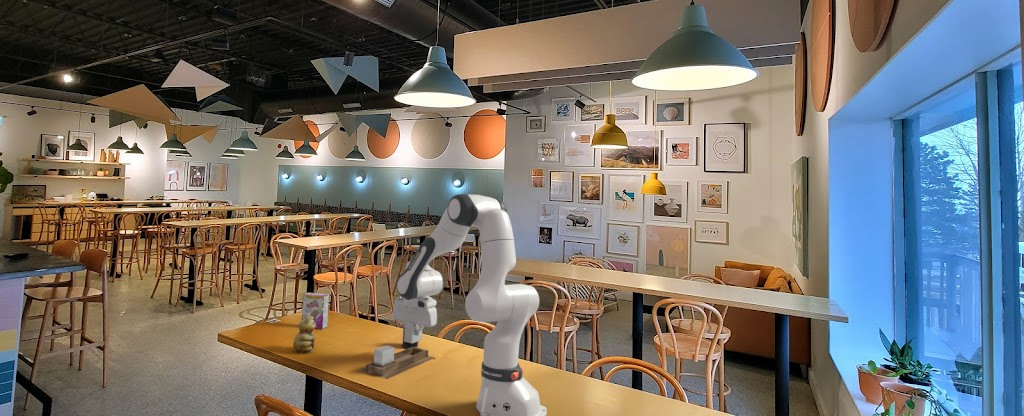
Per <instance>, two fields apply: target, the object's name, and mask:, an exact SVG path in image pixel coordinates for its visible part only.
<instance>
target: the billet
mask: <svg viewBox="0 0 1024 416" xmlns="http://www.w3.org/2000/svg"><path fill="white" fill-rule="evenodd" d="M418 329H419V327H418V325H417V324H415V323H414V322H410V321H405V334H404V342H408V343H415V342H417V341H418V342H419V341H422V340H423V332H422V333H421V335H420V336H417V335H416V331H418Z"/></svg>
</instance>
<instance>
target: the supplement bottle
mask: <svg viewBox="0 0 1024 416" xmlns="http://www.w3.org/2000/svg"><path fill="white" fill-rule="evenodd" d="M404 334H405V327H404V326H403V329H402V347H403V349H408V348H411V347H416V348H419V347H418V346H419V341H417V342H415V343H408V342H404Z"/></svg>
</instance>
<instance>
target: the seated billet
mask: <svg viewBox="0 0 1024 416" xmlns="http://www.w3.org/2000/svg"><path fill="white" fill-rule="evenodd" d="M373 350H374V351H373V352H374V353H373V357H374V358H373V362H374V366H377V367H381V368H383V367H385V366H388V365H390V364H393V363H394V354H395V347H394V346H391V345H383V346H380V347H378V348H375V349H373Z"/></svg>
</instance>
